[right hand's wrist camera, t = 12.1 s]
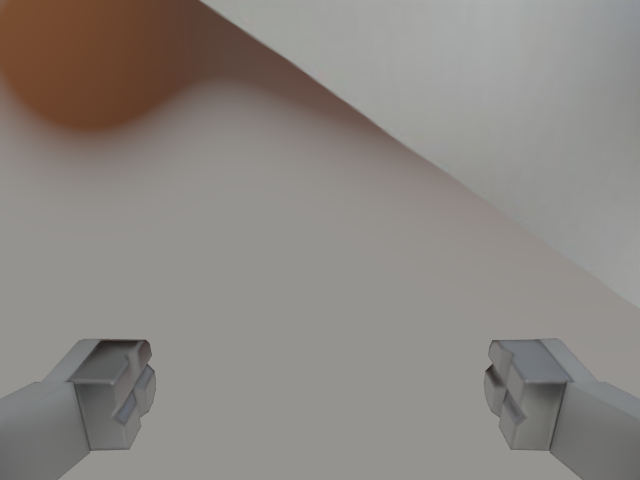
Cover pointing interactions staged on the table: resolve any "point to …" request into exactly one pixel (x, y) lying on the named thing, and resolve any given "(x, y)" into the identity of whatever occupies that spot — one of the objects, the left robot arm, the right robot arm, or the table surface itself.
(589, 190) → the table surface
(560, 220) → the table surface
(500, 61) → the table surface
